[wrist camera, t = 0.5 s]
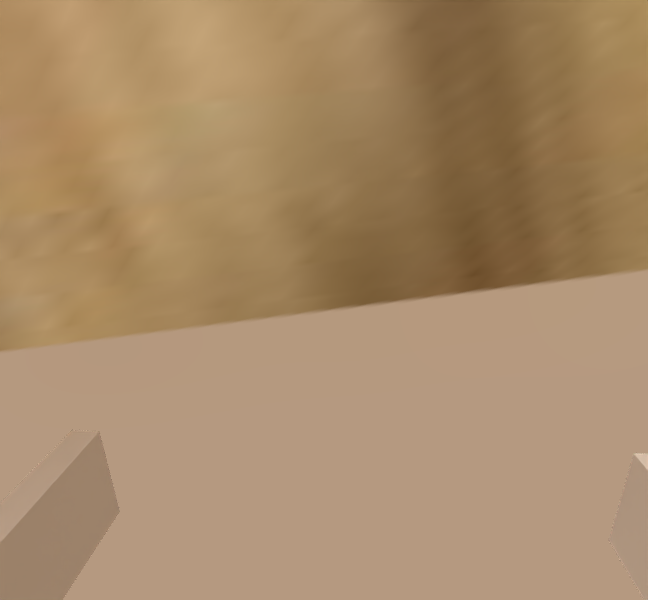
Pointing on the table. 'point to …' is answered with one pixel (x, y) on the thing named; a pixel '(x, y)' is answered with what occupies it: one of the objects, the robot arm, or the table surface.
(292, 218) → the table surface
